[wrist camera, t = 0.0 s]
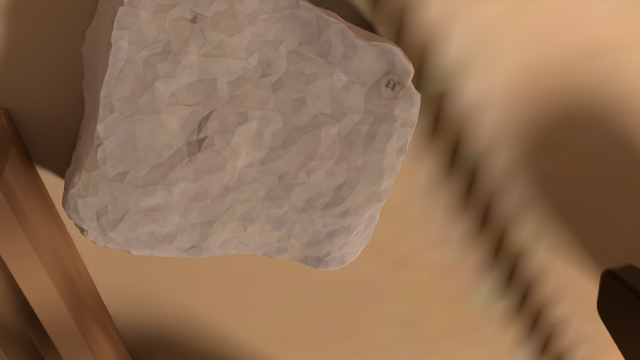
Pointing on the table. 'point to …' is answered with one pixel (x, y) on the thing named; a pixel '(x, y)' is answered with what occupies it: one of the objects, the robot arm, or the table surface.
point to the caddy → (44, 272)
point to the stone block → (237, 130)
